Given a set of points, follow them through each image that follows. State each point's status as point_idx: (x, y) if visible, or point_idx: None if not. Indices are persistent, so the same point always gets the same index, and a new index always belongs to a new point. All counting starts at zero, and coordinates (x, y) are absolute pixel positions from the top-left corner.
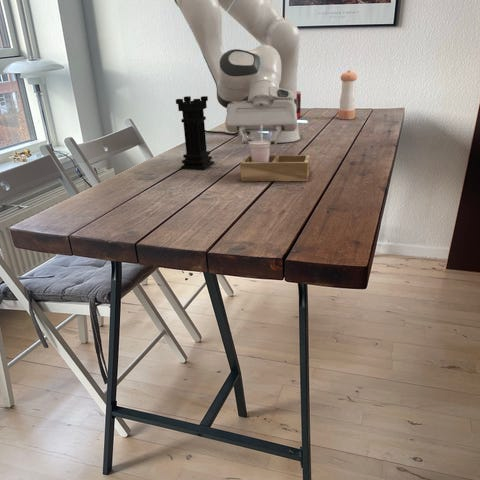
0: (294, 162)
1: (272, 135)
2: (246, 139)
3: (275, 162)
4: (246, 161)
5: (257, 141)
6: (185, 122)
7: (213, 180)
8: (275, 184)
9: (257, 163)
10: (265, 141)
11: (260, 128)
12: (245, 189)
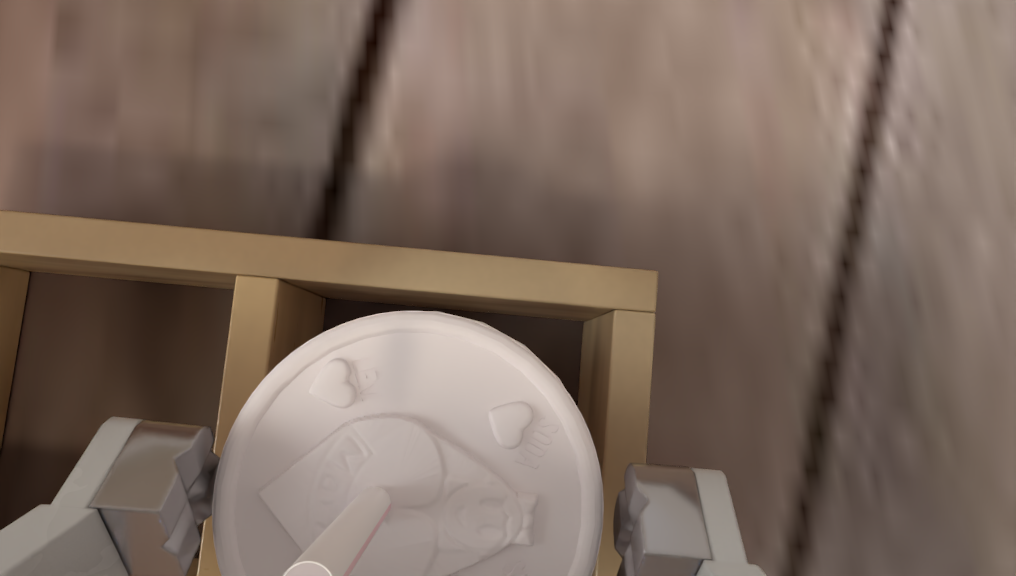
0: (10, 231)
1: (132, 511)
2: (648, 483)
3: (238, 256)
4: (599, 453)
5: (448, 484)
6: None
7: (878, 340)
8: (298, 162)
9: (454, 254)
10: (305, 458)
11: (350, 559)
12: (552, 35)
